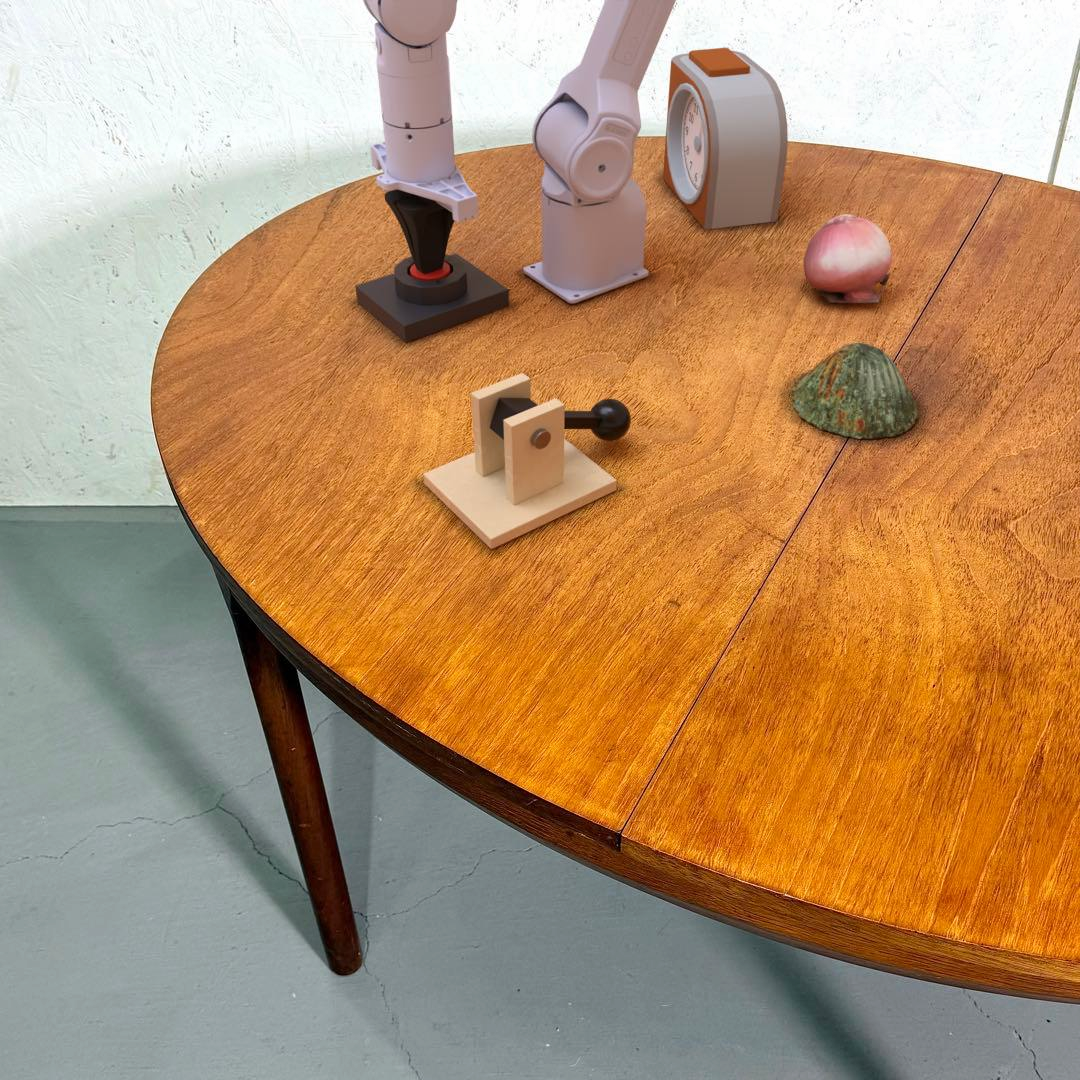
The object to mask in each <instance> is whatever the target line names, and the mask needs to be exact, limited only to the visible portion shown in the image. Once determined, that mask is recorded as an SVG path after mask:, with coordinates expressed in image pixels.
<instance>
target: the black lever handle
mask: <svg viewBox="0 0 1080 1080" xmlns="http://www.w3.org/2000/svg"><path fill="white" fill-rule="evenodd" d="M538 405H539V404H537V403H536V402H535V401H534V400H532V398H531V399H529V398H499V399H498V402H497V405H496V408H495V411H494V414H493V418H492V421H491V424H490V427H489V428H490V429H491V430H492V431H494V432H495V433H496V434H497V435H498V436H499V437H501V438H502V439H503V440H504V421H503V420H504V419H507V418H509V417H512V416H514V415H516V414H519V413H521V412H524V411H526V410H528V409H531V408H533V407H536V406H538ZM631 423H632V416H631V412H630V410H629V408H628V407H627V406H626V405H625V403H624V402H622V401H621V400H618V399H616V398H604V399H601V400H599V401H597V402H596V403H595V404H594V405H593V406H592V407H591V409H590V410H564V430H590V431H591V433H592V434H593V436H595V437H596V438H597V439H599V440H601V441H604V442H615V441H619V440H620V439H622V438H623V437H625V435H626V434H627V433H628V432H629V430H630V427H631Z"/></svg>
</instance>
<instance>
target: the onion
mask: <svg viewBox="0 0 1080 1080" xmlns="http://www.w3.org/2000/svg"><path fill="white" fill-rule="evenodd" d="M892 261H893V252H892V247H891V244H890V242H889V240H888V238H887V236H886V234H885V233H884V231H883V230H882V229H881V228H880V227H879V226H878V225H877V224H876V223H874V222H873V221H871V220H869V219H866V218H865V217H864V218H863V217H858V216H857V215H854V214H849V213H843V214H840V215H837V216H834V217H832V218H830V219H829V220H828V221H826V222H825V223H824V225H822V227H821V228H820V229H818V230H817V231H816V232H815V233H814V234H813V236H812V237H811V238H810V240H809V242H808V244H807V246H806V250H805V253H804V259H803V272H804V276H805V278H806V280H807V281H808V283H809V284H810V285H811V286H812V287H813V288H814V289H816V290H817V292H818V293H819V294H820V295H821V296H822V297H823V298H824V299H825V300H827V302H829V303H833V304H834V303H835V304H878V303H879V301H880V299H881V297H882V294H883V292H884V287H886V284H887V283H888V281H889V279H890V277H891V274H892V273H891V272H889V271H890V268H891V265H892ZM878 284H879V285H880V286H881V290H880V291H874V288H875V287H876V285H878Z"/></svg>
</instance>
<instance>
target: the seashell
mask: <svg viewBox="0 0 1080 1080" xmlns="http://www.w3.org/2000/svg"><path fill="white" fill-rule="evenodd" d="M790 392H791V393H792V394H793V395H792V397H791V399H792V400H793V404H792V407H793V409H794V410H795V411H796V412H798V417H800V419H803V420H805V421H806V422H807V423H809V424H810V425H812V426H814V427H816V428H817V429H819V430H821V431H828V432H829V433H832V434H836V435H841V436H843V437H846V438H849V437H850V438H854V439H857V440H860V439H867V440H874V439H884V438H895V437H896V436H899V435H902V434H903V433H905V432H907V431H908V430H910V429H911V428H912V427H913V426H914V425H915V424H916V421H917V419H918V417H919V412H918V408H917V403H916V400H915V398H914V395H913V394H912V393H911V392H910V391H909V390H908V388H907V387H906V384H905V382H904V379H903V378H902V376H901V374H900V371H899V369H898V367H897V366H896V364H895V363H894V361H893V360H892V359H891V357H890V356H889V355H888V354H886V352H884V351H883V349H880V348H878V347H876V346H875V345H873V344H868V343H865V342H852V343H848V344H845V345H842V346H841V347H839V348H837V349H836V350H834V351H833V352H831V353H830V354H828V355H827V356H826V357H825V358H823V360H821V361H820V362H819V363H817V365H815V366H814V367H813V368H812V369H810V370H809V371H806V372H805V373H803V374H802V375H799V377H798V378H797V379H796V380H795V381H794V386H793V388H792V389H791V391H790Z"/></svg>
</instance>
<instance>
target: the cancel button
mask: <svg viewBox="0 0 1080 1080" xmlns="http://www.w3.org/2000/svg"><path fill="white" fill-rule="evenodd" d="M410 274H411V277H412V278H413V279H418V280H422V281H433V280H439V279H442V278H445V277H448V276H449V275H450V266H449V265H448V264H447V263H446V262H444V264H443V268H442V269H440V270H437V271H434V272H430V273H427V274H423V273H421V272H420V271H419V270H417V269H416V266H415V264H413V265H412V266H411V268H410Z"/></svg>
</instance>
